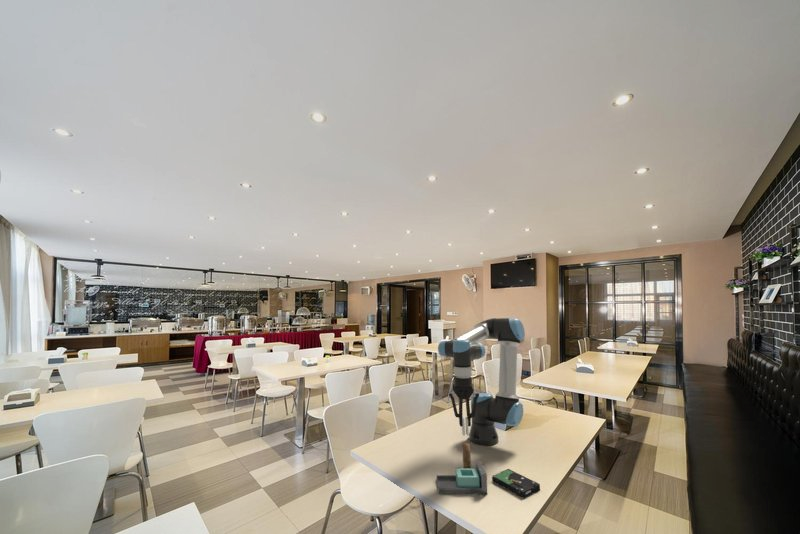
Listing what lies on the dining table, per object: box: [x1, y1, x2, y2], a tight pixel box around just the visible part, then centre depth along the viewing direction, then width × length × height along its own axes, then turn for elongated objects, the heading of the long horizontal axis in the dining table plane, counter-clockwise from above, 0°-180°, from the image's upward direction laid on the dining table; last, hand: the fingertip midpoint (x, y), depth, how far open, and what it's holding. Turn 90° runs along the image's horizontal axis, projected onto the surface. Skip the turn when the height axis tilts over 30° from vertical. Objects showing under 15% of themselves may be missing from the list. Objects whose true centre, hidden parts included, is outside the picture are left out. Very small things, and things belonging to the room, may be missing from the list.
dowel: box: [461, 442, 472, 469], centre depth 132 cm, size 3×3×12 cm
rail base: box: [436, 461, 488, 495], centre depth 123 cm, size 18×10×7 cm, turn 88°
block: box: [455, 467, 480, 487], centre depth 123 cm, size 8×7×4 cm
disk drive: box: [491, 468, 541, 499], centre depth 124 cm, size 10×3×15 cm
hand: (465, 434), depth 134 cm, fingers closed
